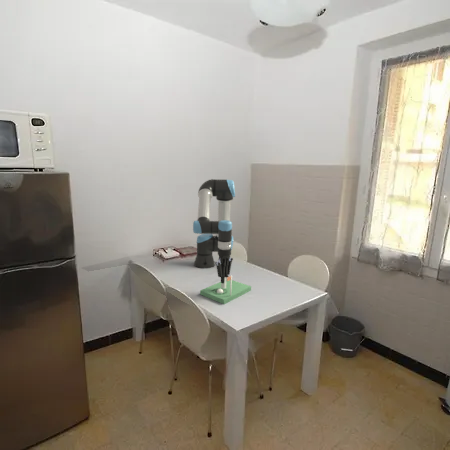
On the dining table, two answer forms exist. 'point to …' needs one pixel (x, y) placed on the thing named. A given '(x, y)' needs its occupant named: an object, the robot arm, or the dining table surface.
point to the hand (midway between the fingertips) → (223, 287)
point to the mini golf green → (226, 291)
